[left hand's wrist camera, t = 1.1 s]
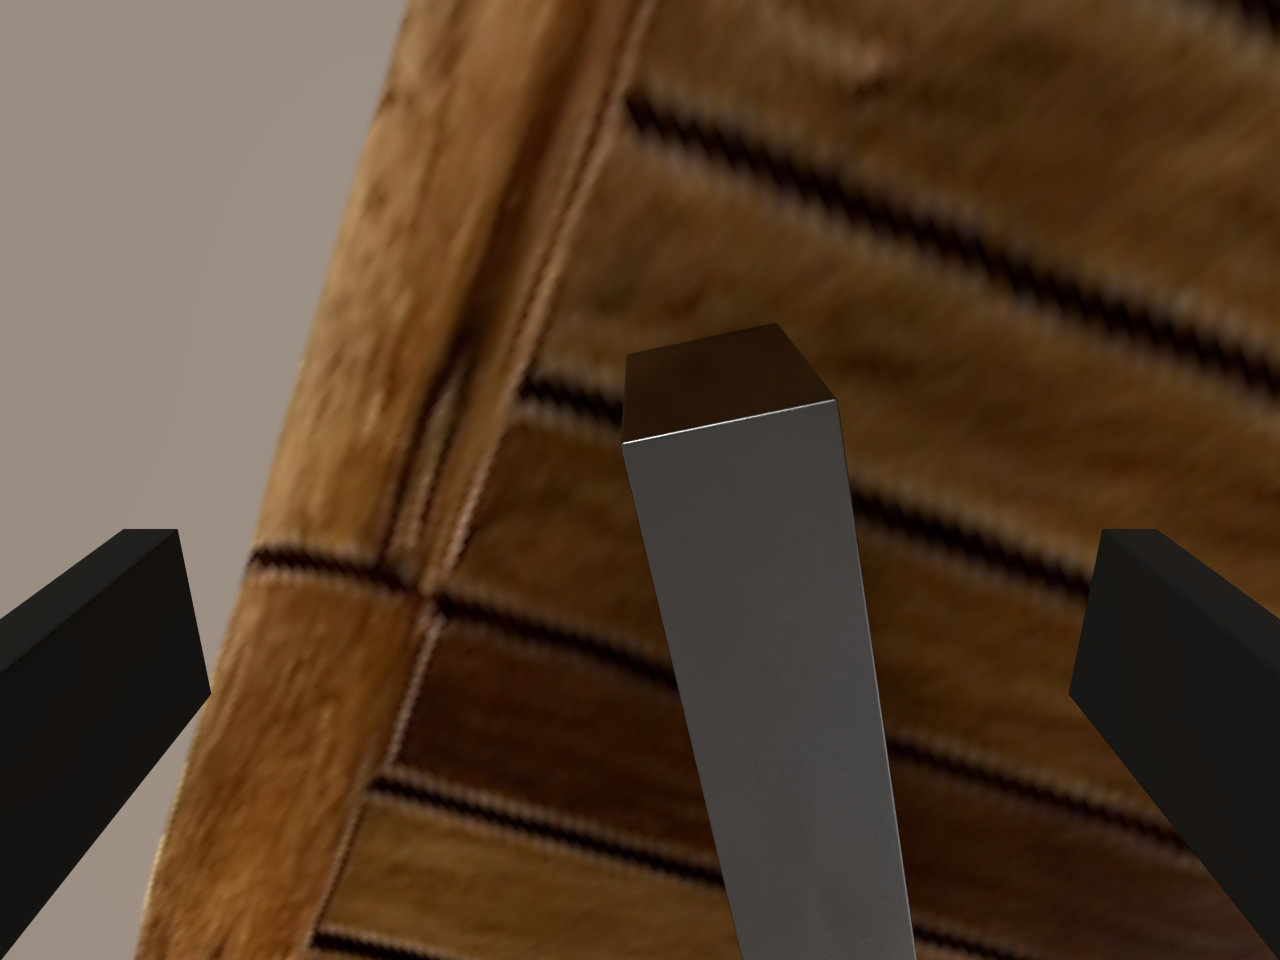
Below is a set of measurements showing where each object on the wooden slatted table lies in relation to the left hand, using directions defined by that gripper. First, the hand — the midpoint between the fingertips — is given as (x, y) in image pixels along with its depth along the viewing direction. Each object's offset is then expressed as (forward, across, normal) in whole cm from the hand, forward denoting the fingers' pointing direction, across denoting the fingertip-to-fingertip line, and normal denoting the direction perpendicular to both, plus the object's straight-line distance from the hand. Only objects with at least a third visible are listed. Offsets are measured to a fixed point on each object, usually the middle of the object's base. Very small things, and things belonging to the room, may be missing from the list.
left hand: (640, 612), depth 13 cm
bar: (+16, +5, -12) cm, 20 cm away
